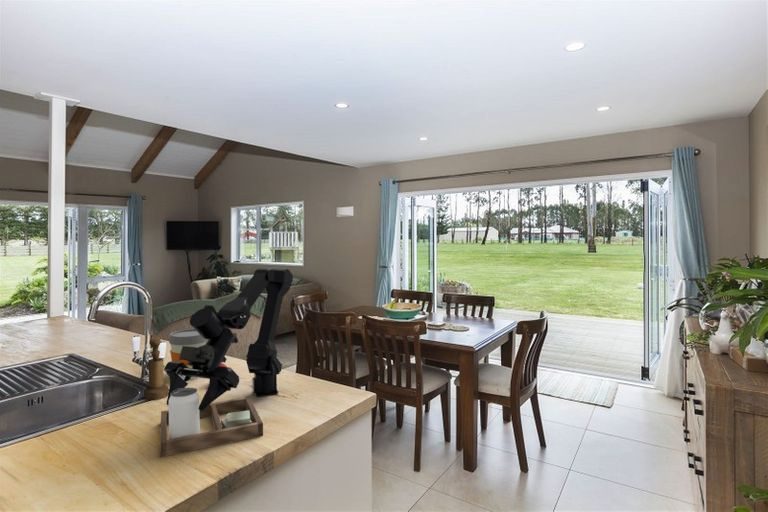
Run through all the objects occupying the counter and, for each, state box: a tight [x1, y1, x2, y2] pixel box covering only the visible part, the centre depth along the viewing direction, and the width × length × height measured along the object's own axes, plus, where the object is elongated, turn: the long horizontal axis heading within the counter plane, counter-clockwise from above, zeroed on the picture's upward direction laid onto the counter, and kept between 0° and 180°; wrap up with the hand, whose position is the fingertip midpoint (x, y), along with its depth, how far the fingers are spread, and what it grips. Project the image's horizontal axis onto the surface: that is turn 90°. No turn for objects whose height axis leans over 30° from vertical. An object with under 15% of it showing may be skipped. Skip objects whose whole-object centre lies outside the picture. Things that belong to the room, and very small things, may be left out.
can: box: [168, 387, 201, 440], centre depth 99 cm, size 6×6×12 cm
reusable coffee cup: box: [168, 328, 208, 380], centre depth 146 cm, size 13×13×15 cm
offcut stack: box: [220, 410, 252, 429], centre depth 104 cm, size 7×6×4 cm
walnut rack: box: [159, 396, 264, 458], centre depth 106 cm, size 22×19×3 cm
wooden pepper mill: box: [143, 336, 169, 401], centre depth 127 cm, size 7×6×18 cm
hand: (183, 407), depth 98 cm, fingers open, 9 cm apart
